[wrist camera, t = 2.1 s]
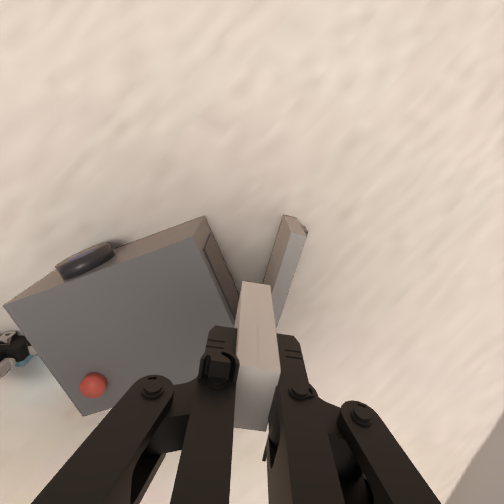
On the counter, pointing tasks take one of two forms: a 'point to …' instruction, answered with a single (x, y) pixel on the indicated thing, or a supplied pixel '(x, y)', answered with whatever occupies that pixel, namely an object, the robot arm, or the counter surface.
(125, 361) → the housing
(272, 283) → the door
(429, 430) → the counter surface
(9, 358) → the push button
